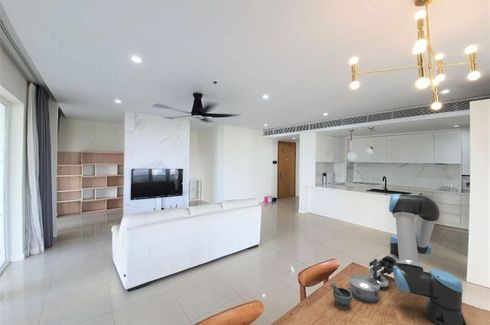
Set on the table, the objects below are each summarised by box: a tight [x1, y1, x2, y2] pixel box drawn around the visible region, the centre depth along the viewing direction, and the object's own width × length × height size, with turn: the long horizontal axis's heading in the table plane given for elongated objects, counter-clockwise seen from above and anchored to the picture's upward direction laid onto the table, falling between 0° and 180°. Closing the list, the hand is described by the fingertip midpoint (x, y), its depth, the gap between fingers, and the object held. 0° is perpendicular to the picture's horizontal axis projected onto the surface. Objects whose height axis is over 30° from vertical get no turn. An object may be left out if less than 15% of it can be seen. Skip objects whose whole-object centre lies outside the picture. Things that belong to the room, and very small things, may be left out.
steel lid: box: [366, 262, 390, 288], centre depth 133 cm, size 12×12×12 cm
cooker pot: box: [348, 273, 381, 304], centre depth 124 cm, size 16×16×8 cm
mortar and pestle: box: [330, 282, 353, 310], centre depth 116 cm, size 11×9×12 cm
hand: (373, 271), depth 130 cm, fingers closed on steel lid, 4 cm apart
